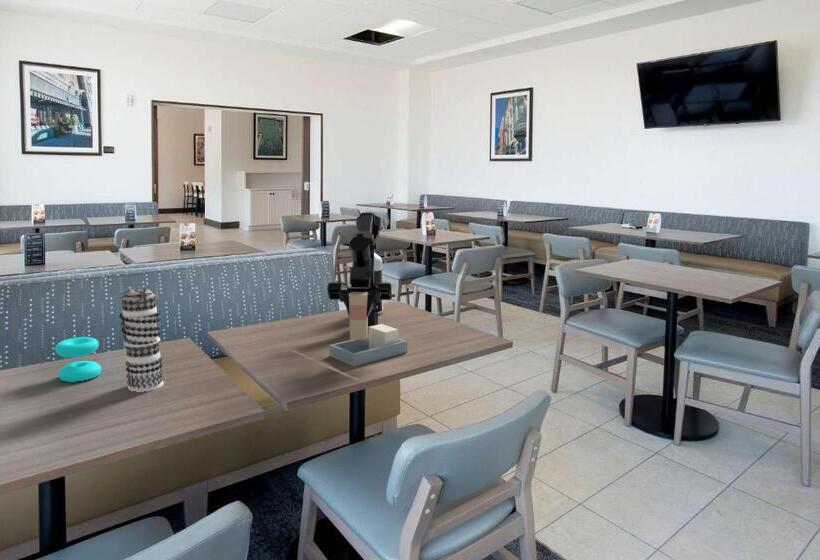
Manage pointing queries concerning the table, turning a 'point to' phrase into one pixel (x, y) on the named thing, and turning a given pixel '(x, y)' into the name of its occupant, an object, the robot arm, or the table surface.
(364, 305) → the oat carton
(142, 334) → the decorative candle
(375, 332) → the cream rectangular block
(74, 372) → the donuts
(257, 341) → the table surface
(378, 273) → the vodka
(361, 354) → the tote
